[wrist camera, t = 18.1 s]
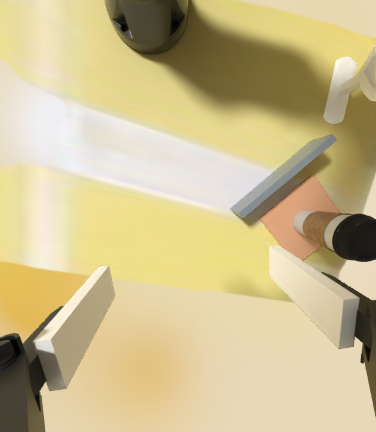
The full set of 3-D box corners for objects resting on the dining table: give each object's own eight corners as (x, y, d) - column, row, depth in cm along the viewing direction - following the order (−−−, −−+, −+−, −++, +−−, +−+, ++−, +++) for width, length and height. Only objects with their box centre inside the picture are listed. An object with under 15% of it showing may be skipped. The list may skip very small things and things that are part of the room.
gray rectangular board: (230, 208, 43) (238, 213, 37) (310, 141, 41) (332, 134, 35) (233, 213, 43) (243, 218, 37) (313, 146, 41) (336, 140, 35)
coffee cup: (320, 236, 44) (391, 262, 30) (287, 240, 44) (344, 269, 29) (321, 203, 43) (398, 213, 28) (288, 207, 42) (347, 220, 28)
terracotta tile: (259, 218, 44) (261, 219, 43) (311, 175, 42) (314, 175, 41) (294, 263, 46) (296, 265, 46) (344, 224, 45) (347, 224, 44)
